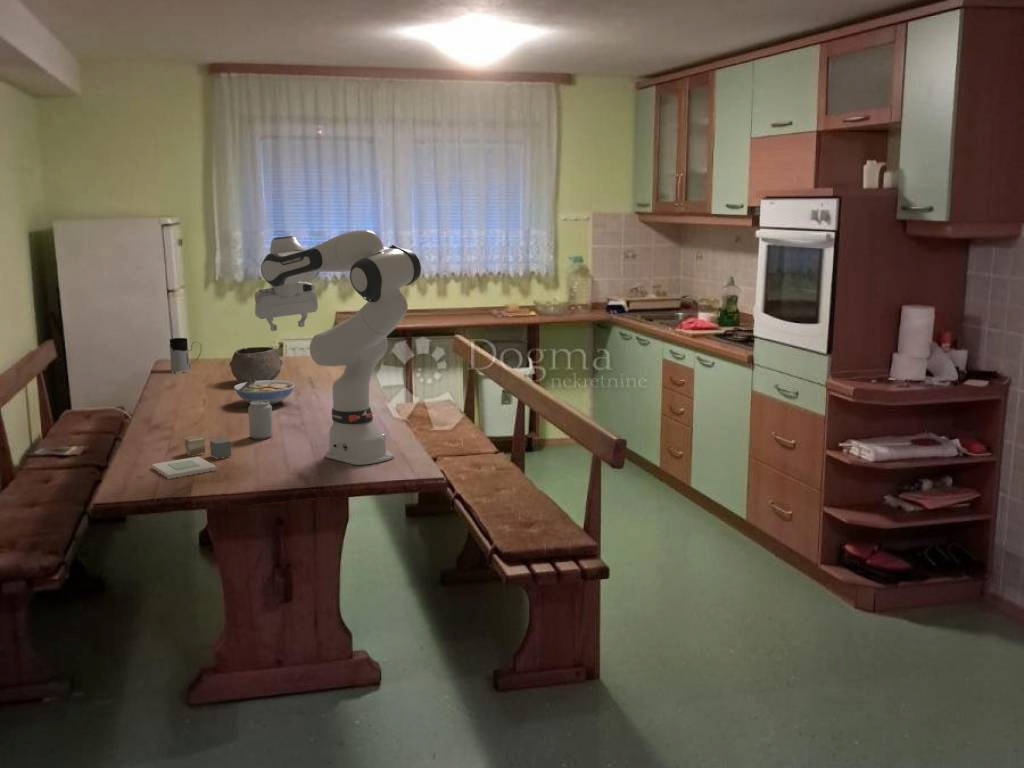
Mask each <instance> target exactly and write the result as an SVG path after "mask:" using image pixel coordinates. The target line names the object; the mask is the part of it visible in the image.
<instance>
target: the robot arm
mask: <svg viewBox="0 0 1024 768" xmlns="http://www.w3.org/2000/svg"><path fill="white" fill-rule="evenodd" d="M269 248H270V249H269V250H270V251H269V253H267V254H266V255H265V256H264V258H263V260H262V262H261V266H260V271H261V276H262V278H263V280H264V281H266V282H267V283H268V284H269V285H270V286H271V287H270V288H264V289H263V288H261V289H258V290H257V291H256V292H255V293H254V301H255V305H254V312H255V313H254V314H255V317H257V318H258V319H261V320H265V319H266V321H267V322H268V324H269V325H270V331H271V332H275V331H276V332H277V330H278V325H277V324H274V323H273V321H274V318H282V317H287V316H294V315H296V316H297V315H300V316H301V318H300V320H298V321H297V325H298V327H299V328H304V327H305V322H306V320H307V318H308V314H310V313H316V312H317V311H318V309H319V305H318V297H317V294H316V292H315V288H316V286H315V284H313V283H312V282H308V281H311V280H314V279H316V278H317V277H318V275H319V273H321V272H324V273H325V272H326V273H328V272H329V273H330V272H334V273H337V272H338V273H339V272H341V273H342V272H345V273H346V272H349V279H350V283H351V286H352V287H353V289H354V290H355V292H357V294H358V295H359V296H360V297H362V298H363V300H365V301H367V302H365V304H364V305H363V306H362V307H360V309H359V310H358V311H357V312H356V313H355V314H353V315H352V316H351V317H348V318H347V319H346V320H344V321H342V322H340V323H338V324H337V325H335V326H333V327H331V328H329V329H327V330H325V331H322V332H320V333H318V334H315V335H314V336H313V337H312V338H311V341H310V344H309V354H310V357H311V359H312V360H313V362H314V363H315V364H317V365H318V366H322V367H333V368H334V367H340V366H341V367H342V366H345V368H344V371H343V372H342V374H341V375H340V376H339V377H337V378H336V379H335V380H334V382H333V384H332V409H331V420H332V425H331V427H329V431H328V445H327V446H328V447H327V450H328V451H326V452H324V457H325V458H328V459H331V460H332V459H333V460H336V461H339V462H343V463H347V464H349V465H353V466H354V465H355V466H360V465H369V464H370V465H371V464H376V463H377V464H378V463H381V462H385V461H390V460H392V459H394V458H395V456H394V453H392V452H391V451H389V450H388V449H387V448H386V447H387V446H386V434H385V433H381V431H380V430H379V428H378V427H377V425H376V424H375V422H374V421H373V420H374V418H373V417H374V416H373V415H374V412H373V411H372V409H371V407H370V384H371V379H372V375H373V372H374V370H375V368H376V366H377V364H378V363H379V362H380V360H381V359H382V358H383V357H384V356H385V354H386V353H387V350H388V347H389V346H388V344H389V343H388V338H387V337H388V336H389V335H390V334H391V333H392V332H393V331H394V330H395V329H396V328H397V327H398V326H399V325H400V323H401V322H402V321H403V319H404V318H405V316H406V314H407V312H408V308H409V307H408V306H409V305H408V301H407V299H406V297H405V296H404V294H403V293H402V292H401V289H400V288H403V287H406V286H410V285H411V284H413V283H415V282H416V281H417V280H418V279H419V278H420V276H421V273H422V265H421V261H420V259H419V257H418V255H417V254H416V253H414V252H413V251H412V250H410V249H407V248H401V247H400V246H397V245H395V244H392V245H390V246H389V247H385V246H384V245H383V242H382V240H381V238H380V237H379V235H378V234H377V233H376V232H374V231H372V230H368V229H367V230H363V229H361V230H360V229H359V230H352V231H348V232H345V233H342V234H339V235H336V236H334V237H332V238H330V239H327V240H326V241H324V242H321V243H319V244H316V245H314V246H312V247H310V248H308V249H307V248H305V246H303V245H301V244H300V243H299V241H298V238H297V237H296V236H293V235H287V236H286V235H285V236H279V237H274V238H273V239H272V240H271V242H270V247H269Z"/></svg>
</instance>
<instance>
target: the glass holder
mask: <svg viewBox="0 0 1024 768" xmlns="http://www.w3.org/2000/svg"><path fill="white" fill-rule="evenodd" d="M195 343H198V344H199V345H200V351H199V355H198V356H197V358H195V359H194V360H193V361H192V362H191V363H190V357H189V354H190V353H189V352H192V350H193V345H194V344H195ZM190 347H191V349H188V348H189V346H188V338H187V337H175V338H170V339H169V355H170V356H169V357H170V368H171V369H170V373H171V372H186V371H191V365H192V364H193V363H195V362H196V361H197V360H198V359H199V358H200V356H201V353H202V349H203V348H202V343H200V342H199V341H193V342H192V343H191V345H190Z"/></svg>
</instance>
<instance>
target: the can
mask: <svg viewBox="0 0 1024 768" xmlns="http://www.w3.org/2000/svg"><path fill="white" fill-rule="evenodd" d="M272 406H273V405H270V404H269V401H263V400H261V401H253V402H250V403H249V406H248V409H247V410H248V414H247V415H248V430H249V431H248V432H249V436H250V437H251V438H252V439H253V438H254V439H253V440H265V438H267V439H269V437H270V436H271V437H272V435H274V429H273V427H274V426H273V409H272ZM271 437H270V438H271Z"/></svg>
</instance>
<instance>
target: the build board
mask: <svg viewBox="0 0 1024 768" xmlns="http://www.w3.org/2000/svg"><path fill="white" fill-rule="evenodd" d="M152 468H153V469H152ZM217 468H218V467H217V466H216V465H215V464H213V463H211V462H209V461H207V460H206V459H204V458H202V457H200V455H198V456H192V457H187V458H181V459H175V460H169V461H163V462H158V463H153V464H151V469H152V470H154V469H155V470H156V471H155V472H157V471H158V472H157V473H159V474H160V473H161V474H160V475H161V476H163V475H164V476H163V477H165V478H166V477H167V478H166V479H167V480H171V478H172V479H177V478H176V477H178V478H183V477H188V476H187V475H189V476H193V474H194V475H197V474H198V473H200V474H204V473H203V472H205V473H210V472H209V471H211V472H215V470H216V471H218V470H217ZM198 475H199V474H198ZM182 476H183V477H182Z"/></svg>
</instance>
